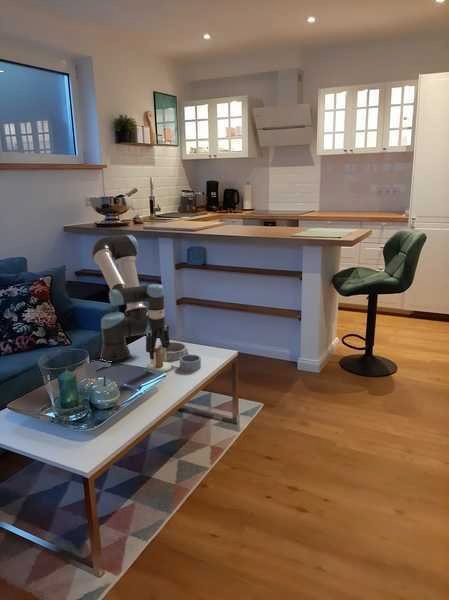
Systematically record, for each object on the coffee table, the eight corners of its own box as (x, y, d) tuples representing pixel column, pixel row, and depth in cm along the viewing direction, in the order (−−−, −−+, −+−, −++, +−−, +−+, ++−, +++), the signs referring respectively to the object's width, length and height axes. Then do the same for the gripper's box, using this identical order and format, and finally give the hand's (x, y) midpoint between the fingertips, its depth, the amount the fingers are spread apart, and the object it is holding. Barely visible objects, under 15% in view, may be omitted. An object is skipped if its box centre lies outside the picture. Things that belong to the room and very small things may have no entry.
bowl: (176, 369, 234) (175, 359, 233) (189, 363, 242) (189, 353, 240) (191, 374, 228) (191, 363, 227) (204, 367, 236) (204, 357, 234)
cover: (141, 369, 233) (140, 349, 230) (159, 361, 242) (158, 342, 239) (159, 375, 226) (158, 355, 223) (176, 367, 235) (175, 347, 232)
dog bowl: (190, 350, 260) (190, 341, 258) (184, 363, 242) (184, 353, 241) (159, 349, 262) (159, 340, 260) (151, 362, 244) (150, 352, 242)
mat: (140, 371, 233) (140, 369, 233) (159, 362, 243) (159, 361, 243) (159, 377, 225) (159, 376, 225) (178, 368, 235) (178, 367, 235)
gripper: (147, 323, 217) (149, 370, 223) (176, 313, 232) (178, 358, 238) (135, 320, 222) (138, 367, 228) (165, 311, 237) (167, 354, 243)
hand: (158, 362), depth 233 cm, fingers open, 6 cm apart
